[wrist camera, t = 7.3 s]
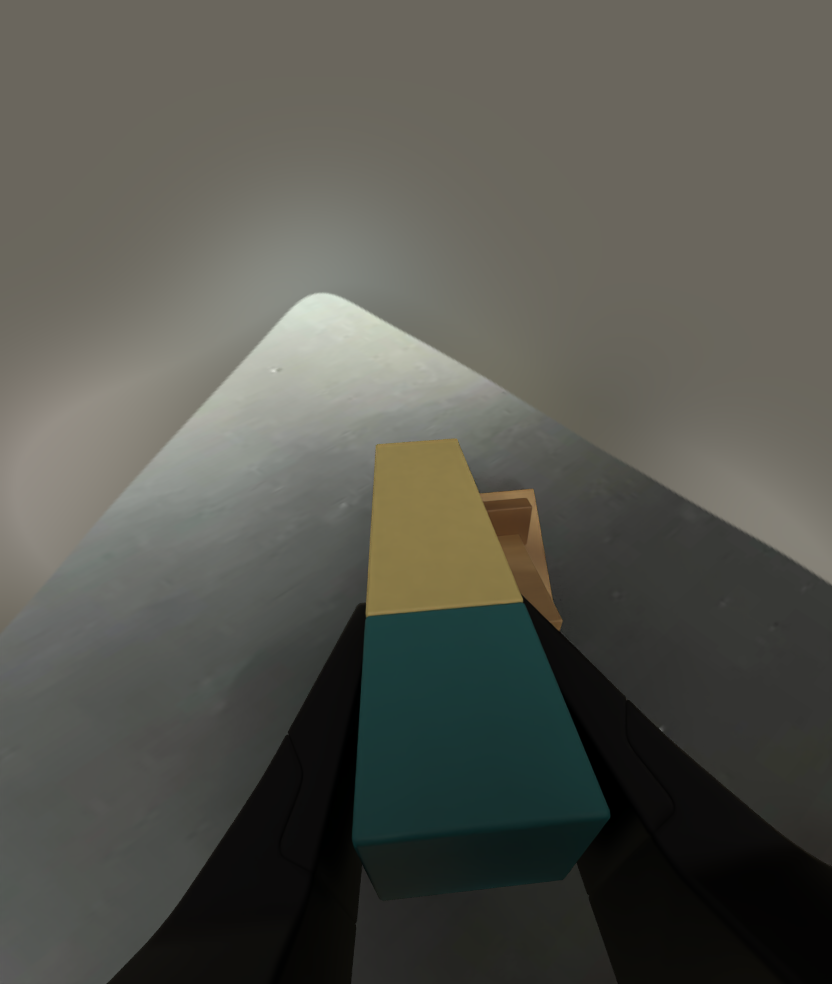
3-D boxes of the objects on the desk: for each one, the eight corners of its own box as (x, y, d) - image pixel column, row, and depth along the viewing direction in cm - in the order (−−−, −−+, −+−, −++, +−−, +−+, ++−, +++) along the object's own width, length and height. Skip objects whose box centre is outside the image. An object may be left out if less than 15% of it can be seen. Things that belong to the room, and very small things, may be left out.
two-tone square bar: (477, 703, 15) (655, 1055, 4) (396, 710, 14) (359, 1096, 4) (450, 456, 17) (518, 268, 6) (380, 461, 17) (329, 279, 6)
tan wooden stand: (550, 622, 22) (607, 643, 16) (456, 632, 22) (474, 657, 15) (528, 491, 24) (571, 463, 17) (441, 499, 23) (452, 474, 17)
